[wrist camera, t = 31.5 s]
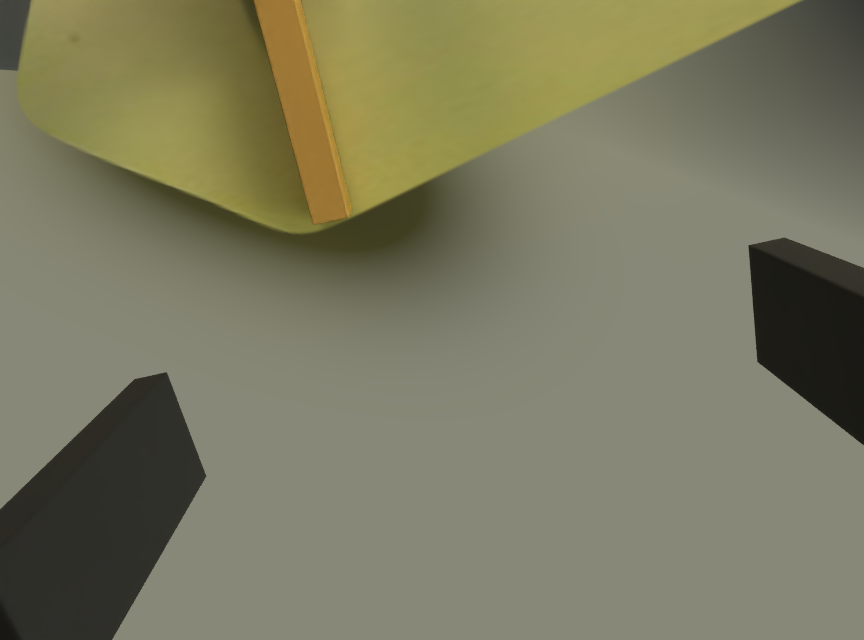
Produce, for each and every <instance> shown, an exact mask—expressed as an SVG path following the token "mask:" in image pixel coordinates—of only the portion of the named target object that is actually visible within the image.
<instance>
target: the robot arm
mask: <svg viewBox="0 0 864 640" xmlns="http://www.w3.org/2000/svg"><path fill="white" fill-rule="evenodd" d="M749 257H750V270H751V283H752V296H753V310H754V321H755V336H756V349H757V361H758V362H759V363H760V364H761V365H763V366H764V367H765V368H766V369H768V370H769V371H770V372H771V373H773V374H774V375H775V376H776V377H778V378H779V379H780V380H781V381H783V382H784V383H785V384H786V385H788V386H789V387H790V388H792V389H793V390H794V391H795V392H797V393H798V394H799V395H800V396H802V397H803V398H804V399H806V400H807V401H808V402H809V403H811V404H812V405H813V406H814V407H816V408H817V409H818V410H820V411H821V412H822V413H823V414H825V415H826V416H827V417H829V418H830V419H831V420H832V421H834V422H835V423H836V424H837V425H839V426H840V427H841V428H842V429H844V430H845V431H846V432H848V433H849V434H850V435H851V436H853V437H854V438H855V439H856V440H858V441H859V442H860V443H861V444H863V445H864V268H862V267H860V266H857V265H855V264H852V263H849V262H847V261H844V260H842V259H839V258H836V257H834V256H831V255H829V254H826V253H823V252H821V251H818V250H815V249H813V248H810V247H807V246H805V245H802V244H800V243H797V242H795V241H792V240H789V239H787V238H781V239H776V240H771V241H767V242H762V243H758V244H753V245H749ZM205 477H206V474H205V472H204V469H203V467H202V464H201V461H200V459H199V456H198V453H197V451H196V448H195V445H194V443H193V440H192V438H191V435H190V432H189V430H188V427H187V424H186V422H185V419H184V417H183V414H182V412H181V409H180V406H179V403H178V401H177V398H176V395H175V393H174V390H173V388H172V385H171V382H170V380H169V377H168V375H167V373H161V374H157V375H152V376H148V377H143V378H139V379H134V380H133V381H132V382H131V383H130V384H129V385H128V386H127V387H126V388H125V389H124V390H123V391H122V392H121V393H120V394H119V395H118V396H117V397H116V398H115V399H114V400H113V401H112V402H111V403H110V404H109V405H108V406H107V407H105V408H104V409H103V410H102V411H101V412H100V413H99V414H98V415H97V416H96V417H95V418H94V419H93V420H92V421H91V422H90V423H89V424H88V425H87V426H86V427H85V428H84V429H83V430H82V431H81V432H80V433H79V434H78V435H77V436H76V437H74V438H73V439H72V441H70V442H69V443H68V444H67V445H66V446H65V447H64V448H63V449H62V450H61V451H60V452H59V453H58V454H57V455H56V456H55V457H54V458H53V459H52V460H51V461H50V462H49V463H48V464H47V465H46V466H45V467H44V468H43V469H41V470H40V471H39V472H38V473H37V474H36V475H35V476H34V477H33V478H32V479H31V480H30V481H29V482H28V483H27V484H26V485H25V486H24V487H23V488H22V489H21V490H20V491H19V492H18V493H17V494H16V495H15V496H14V497H13V498H12V499H11V500H10V501H8V502H7V503H6V504H5V505H4V506H3V507H2V508H1V509H0V640H112V639H113V637H114V635H115V634H116V632H117V630H118V628H119V627H120V625H121V623H122V621H123V620H124V618H125V616H126V614H127V613H128V611H129V609H130V607H131V606H132V604H133V602H134V600H135V599H136V597H137V595H138V593H139V592H140V590H141V588H142V587H143V585H144V583H145V582H146V580H147V578H148V576H149V574H150V573H151V571H152V569H153V568H154V566H155V564H156V562H157V561H158V559H159V557H160V555H161V554H162V552H163V550H164V549H165V547H166V545H167V543H168V542H169V540H170V538H171V536H172V535H173V533H174V531H175V529H176V528H177V526H178V524H179V523H180V521H181V519H182V517H183V516H184V514H185V512H186V510H187V509H188V507H189V505H190V503H191V502H192V500H193V498H194V497H195V494H196V493H197V491H198V490H199V488H200V486H201V484H202V483H203V481H204V479H205Z"/></svg>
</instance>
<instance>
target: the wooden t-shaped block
mask: <svg viewBox="0 0 864 640" xmlns="http://www.w3.org/2000/svg"><path fill="white" fill-rule="evenodd" d="M254 4H255V8H256V12H257V15H258V19H259V23H260V27H261V30H262V34H263V38H264V42H265V46H266V49H267V53H268V57H269V61H270V64H271V68H272V72H273V76H274V79H275V83H276V87H277V91H278V95H279V98H280V102H281V106H282V110H283V113H284V117H285V121H286V125H287V128H288V132H289V136H290V140H291V144H292V147H293V151H294V155H295V159H296V162H297V166H298V170H299V174H300V177H301V181H302V185H303V189H304V192H305V196H306V200H307V204H308V208H309V211H310V215H311V219H312V223H313V224H314V225H315V224H320V223H325V222H330V221H334V220H339V219H344V218H348V217H349V216H350V214H351V212H352V208H351V204H350V200H349V195H348V191H347V187H346V183H345V179H344V175H343V171H342V167H341V163H340V159H339V155H338V151H337V147H336V142H335V138H334V134H333V130H332V126H331V122H330V118H329V114H328V110H327V106H326V102H325V98H324V93H323V89H322V85H321V81H320V77H319V73H318V69H317V65H316V61H315V57H314V53H313V49H312V45H311V40H310V36H309V32H308V28H307V24H306V20H305V16H304V12H303V8H302V4H301V0H254Z"/></svg>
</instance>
